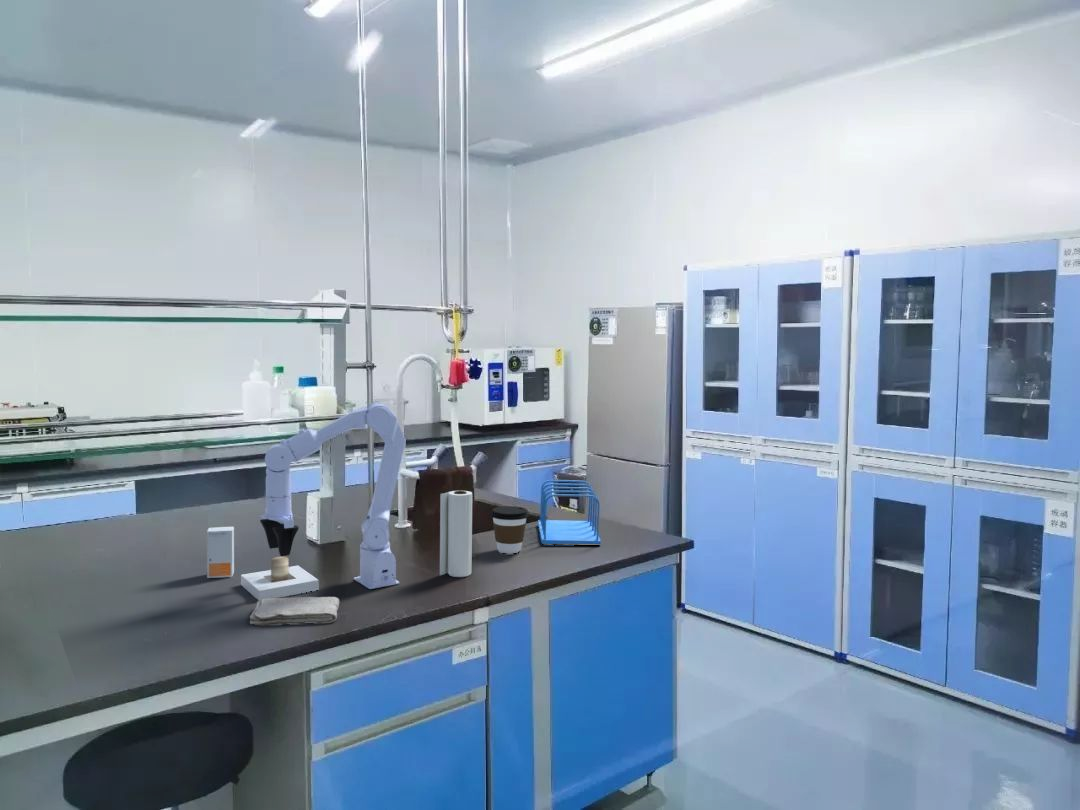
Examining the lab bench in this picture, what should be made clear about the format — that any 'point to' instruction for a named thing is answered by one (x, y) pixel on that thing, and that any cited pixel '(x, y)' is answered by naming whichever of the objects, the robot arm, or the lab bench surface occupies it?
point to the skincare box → (220, 552)
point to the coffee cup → (509, 527)
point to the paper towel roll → (456, 533)
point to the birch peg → (279, 569)
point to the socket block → (279, 584)
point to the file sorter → (569, 529)
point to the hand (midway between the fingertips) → (279, 551)
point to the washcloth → (295, 610)
